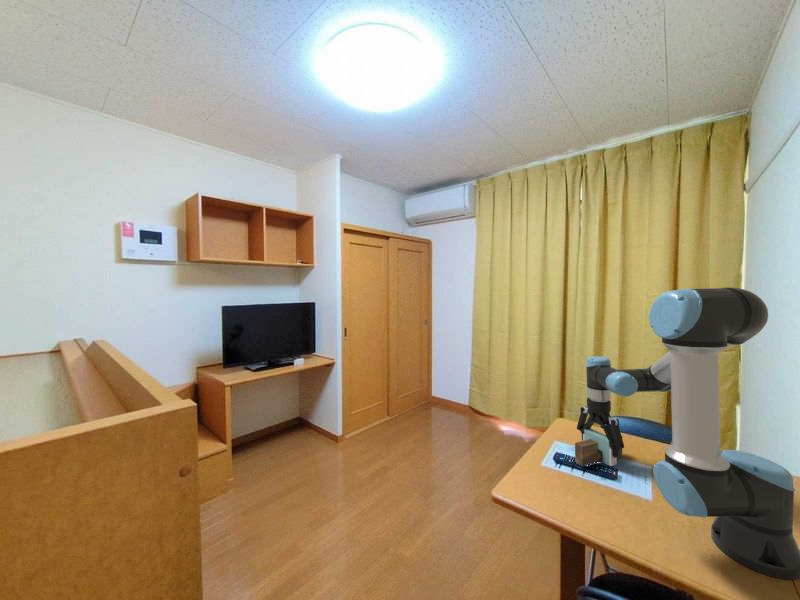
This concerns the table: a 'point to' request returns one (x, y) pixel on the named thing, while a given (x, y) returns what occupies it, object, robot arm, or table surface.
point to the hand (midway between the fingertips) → (599, 457)
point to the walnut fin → (589, 452)
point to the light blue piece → (599, 442)
